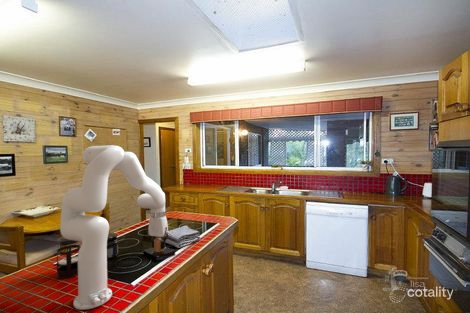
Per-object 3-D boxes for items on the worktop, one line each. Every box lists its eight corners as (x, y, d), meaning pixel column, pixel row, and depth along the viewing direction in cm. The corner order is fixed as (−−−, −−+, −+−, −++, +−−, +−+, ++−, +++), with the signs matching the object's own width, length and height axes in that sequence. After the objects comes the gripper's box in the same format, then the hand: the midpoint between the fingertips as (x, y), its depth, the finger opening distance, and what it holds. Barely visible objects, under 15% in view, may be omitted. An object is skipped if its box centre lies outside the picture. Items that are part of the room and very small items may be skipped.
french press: (54, 281, 104) (53, 229, 104) (55, 273, 112) (54, 224, 112) (85, 274, 111) (84, 224, 111) (84, 266, 119) (84, 220, 119)
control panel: (174, 255, 130) (174, 250, 130) (156, 262, 122) (156, 256, 122) (161, 248, 140) (161, 244, 140) (143, 254, 132) (143, 249, 132)
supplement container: (116, 252, 135) (116, 231, 135) (119, 258, 127) (119, 236, 127) (95, 257, 130) (94, 235, 130) (97, 264, 121) (96, 240, 121)
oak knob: (165, 250, 131) (165, 238, 131) (157, 252, 127) (156, 241, 127) (160, 247, 134) (160, 236, 134) (152, 250, 131) (152, 239, 131)
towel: (163, 243, 147) (162, 231, 147) (186, 235, 162) (186, 224, 162) (178, 249, 138) (178, 236, 138) (201, 240, 152) (201, 228, 152)
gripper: (141, 214, 131) (141, 248, 131) (166, 217, 124) (167, 252, 124) (150, 211, 138) (151, 243, 138) (175, 214, 131) (175, 247, 131)
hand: (158, 247), depth 131 cm, fingers closed on oak knob, 5 cm apart
